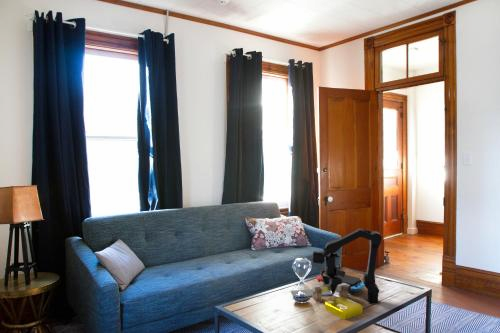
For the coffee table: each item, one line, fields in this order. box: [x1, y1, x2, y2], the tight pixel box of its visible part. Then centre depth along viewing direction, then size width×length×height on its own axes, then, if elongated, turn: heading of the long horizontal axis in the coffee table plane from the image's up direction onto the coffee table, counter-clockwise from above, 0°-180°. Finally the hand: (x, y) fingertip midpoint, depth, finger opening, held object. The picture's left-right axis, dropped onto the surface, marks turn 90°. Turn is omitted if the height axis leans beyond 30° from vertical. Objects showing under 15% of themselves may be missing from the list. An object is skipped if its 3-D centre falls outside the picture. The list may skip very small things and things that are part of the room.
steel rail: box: [312, 283, 348, 292], centre depth 214 cm, size 3×20×3 cm, turn 101°
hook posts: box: [311, 286, 349, 303], centre depth 214 cm, size 6×19×8 cm, turn 101°
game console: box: [316, 273, 366, 295], centre depth 231 cm, size 28×6×15 cm
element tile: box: [324, 296, 364, 320], centre depth 198 cm, size 15×15×5 cm
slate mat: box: [290, 288, 334, 298], centre depth 221 cm, size 9×23×1 cm, turn 101°
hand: (330, 291), depth 214 cm, fingers open, 8 cm apart
